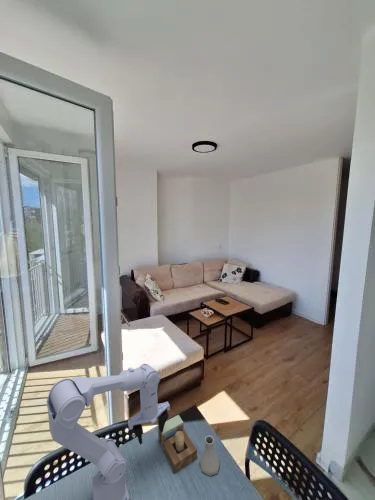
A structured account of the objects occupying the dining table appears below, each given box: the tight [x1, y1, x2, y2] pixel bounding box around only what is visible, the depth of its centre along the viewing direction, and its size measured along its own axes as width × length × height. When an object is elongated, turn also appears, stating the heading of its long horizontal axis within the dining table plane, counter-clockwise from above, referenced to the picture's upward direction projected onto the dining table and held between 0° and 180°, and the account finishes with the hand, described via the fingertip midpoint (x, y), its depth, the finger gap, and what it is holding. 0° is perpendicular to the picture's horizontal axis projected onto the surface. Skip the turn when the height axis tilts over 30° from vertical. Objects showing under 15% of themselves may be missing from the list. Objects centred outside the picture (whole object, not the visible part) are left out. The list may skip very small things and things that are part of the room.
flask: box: [198, 434, 221, 477], centre depth 76 cm, size 7×7×10 cm
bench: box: [157, 414, 185, 449], centre depth 86 cm, size 9×4×6 cm, turn 121°
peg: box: [175, 431, 184, 455], centre depth 80 cm, size 3×3×8 cm
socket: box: [162, 429, 198, 474], centre depth 80 cm, size 9×9×4 cm
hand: (150, 435), depth 77 cm, fingers open, 7 cm apart
